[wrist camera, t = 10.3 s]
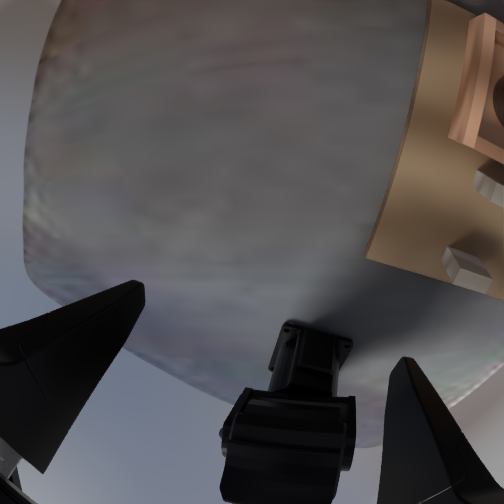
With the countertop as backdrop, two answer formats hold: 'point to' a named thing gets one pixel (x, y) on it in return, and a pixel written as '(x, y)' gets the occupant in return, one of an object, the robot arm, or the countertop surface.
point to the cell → (499, 100)
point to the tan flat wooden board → (450, 160)
